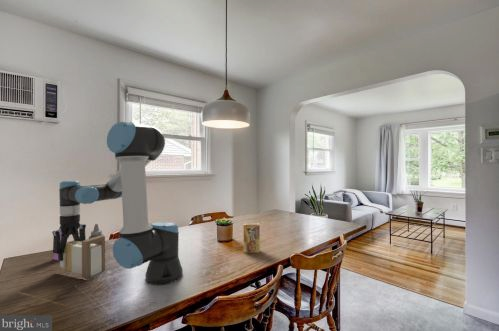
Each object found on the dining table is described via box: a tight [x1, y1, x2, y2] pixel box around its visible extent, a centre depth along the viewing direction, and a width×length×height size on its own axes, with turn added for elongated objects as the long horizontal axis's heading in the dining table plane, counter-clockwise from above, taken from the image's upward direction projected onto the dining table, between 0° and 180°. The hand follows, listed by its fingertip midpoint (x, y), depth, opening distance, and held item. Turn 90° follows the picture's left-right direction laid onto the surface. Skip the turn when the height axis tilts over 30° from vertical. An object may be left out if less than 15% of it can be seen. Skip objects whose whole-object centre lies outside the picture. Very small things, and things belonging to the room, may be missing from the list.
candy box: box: [243, 222, 261, 253], centre depth 133 cm, size 9×4×15 cm, turn 92°
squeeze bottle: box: [88, 223, 107, 252], centre depth 122 cm, size 8×8×18 cm
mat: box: [85, 267, 112, 281], centre depth 109 cm, size 24×12×1 cm, turn 71°
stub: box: [62, 239, 81, 272], centre depth 110 cm, size 6×5×12 cm
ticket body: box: [71, 235, 106, 278], centre depth 107 cm, size 12×8×16 cm
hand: (70, 264), depth 111 cm, fingers open, 6 cm apart
